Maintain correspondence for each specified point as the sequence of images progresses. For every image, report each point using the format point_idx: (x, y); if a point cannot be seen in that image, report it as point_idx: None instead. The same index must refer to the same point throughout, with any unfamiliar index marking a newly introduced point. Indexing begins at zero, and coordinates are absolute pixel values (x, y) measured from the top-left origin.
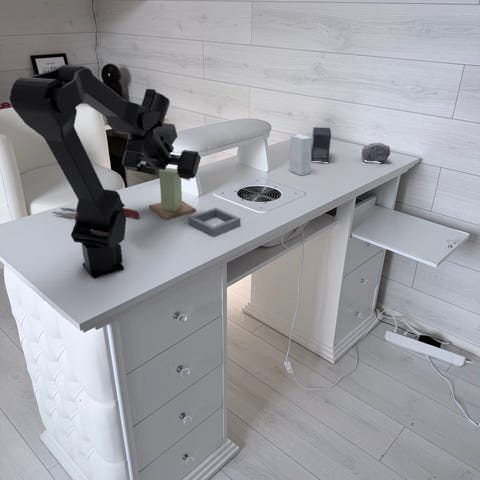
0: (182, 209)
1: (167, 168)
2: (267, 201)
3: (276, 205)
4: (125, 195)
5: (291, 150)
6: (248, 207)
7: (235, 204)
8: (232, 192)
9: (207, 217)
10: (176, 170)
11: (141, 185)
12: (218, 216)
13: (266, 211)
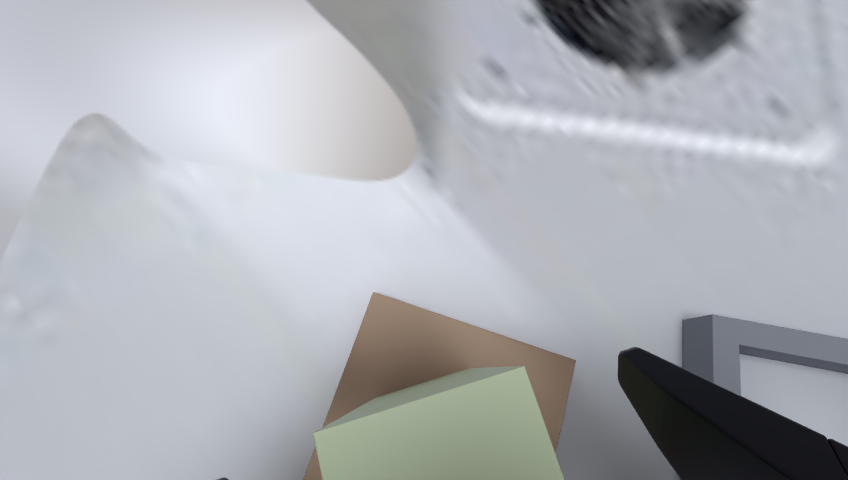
0: None
1: (352, 456)
2: (737, 30)
3: (803, 44)
4: (17, 437)
5: None
6: (729, 137)
7: (653, 145)
8: (528, 36)
9: None
10: (517, 445)
11: (20, 242)
12: (741, 352)
13: (829, 126)
